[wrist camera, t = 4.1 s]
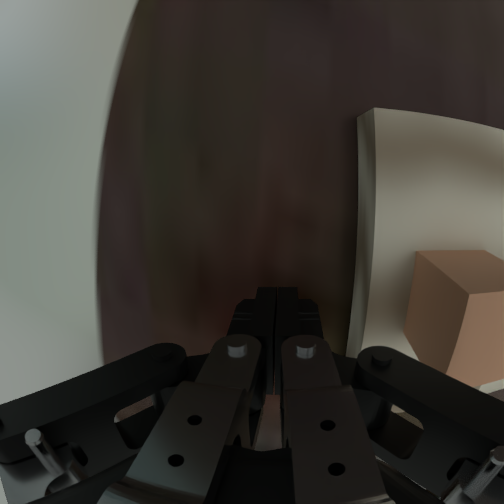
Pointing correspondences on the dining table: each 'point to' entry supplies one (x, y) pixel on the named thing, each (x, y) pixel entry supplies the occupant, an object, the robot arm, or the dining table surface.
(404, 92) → the dining table surface
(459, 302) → the block
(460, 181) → the checkered shape sorter board
